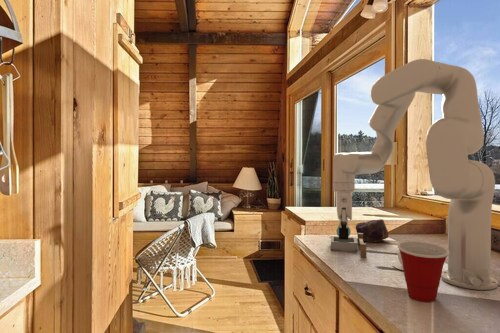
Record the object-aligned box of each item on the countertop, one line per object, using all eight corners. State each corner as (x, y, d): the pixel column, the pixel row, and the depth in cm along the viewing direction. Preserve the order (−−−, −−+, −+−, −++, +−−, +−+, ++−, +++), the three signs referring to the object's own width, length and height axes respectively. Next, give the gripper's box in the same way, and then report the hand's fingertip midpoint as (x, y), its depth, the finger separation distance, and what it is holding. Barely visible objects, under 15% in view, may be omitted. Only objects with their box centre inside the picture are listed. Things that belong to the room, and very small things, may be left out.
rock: (358, 241, 144) (357, 246, 134) (355, 220, 144) (354, 223, 135) (389, 238, 140) (390, 243, 131) (385, 216, 141) (386, 220, 131)
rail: (366, 257, 115) (366, 244, 115) (360, 257, 116) (360, 244, 115) (362, 245, 132) (362, 233, 132) (357, 244, 133) (357, 233, 132)
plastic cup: (412, 308, 77) (413, 253, 76) (388, 289, 87) (389, 241, 87) (460, 306, 77) (460, 251, 77) (431, 288, 88) (431, 240, 88)
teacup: (434, 274, 99) (434, 257, 99) (397, 272, 101) (397, 256, 101) (422, 263, 109) (422, 248, 109) (389, 262, 111) (389, 247, 111)
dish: (357, 251, 123) (357, 243, 123) (330, 250, 125) (330, 241, 125) (356, 245, 131) (356, 237, 131) (331, 244, 134) (331, 236, 134)
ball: (350, 240, 125) (350, 226, 125) (336, 239, 126) (336, 225, 126) (350, 236, 130) (350, 223, 130) (336, 236, 131) (336, 222, 131)
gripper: (355, 189, 119) (355, 243, 119) (353, 185, 135) (353, 233, 136) (332, 189, 120) (332, 242, 121) (333, 185, 137) (333, 232, 137)
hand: (343, 237), depth 128 cm, fingers closed on ball, 4 cm apart
